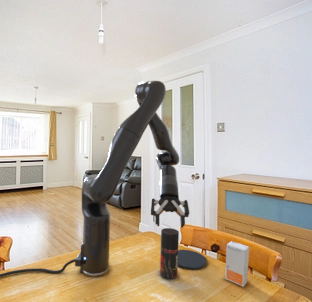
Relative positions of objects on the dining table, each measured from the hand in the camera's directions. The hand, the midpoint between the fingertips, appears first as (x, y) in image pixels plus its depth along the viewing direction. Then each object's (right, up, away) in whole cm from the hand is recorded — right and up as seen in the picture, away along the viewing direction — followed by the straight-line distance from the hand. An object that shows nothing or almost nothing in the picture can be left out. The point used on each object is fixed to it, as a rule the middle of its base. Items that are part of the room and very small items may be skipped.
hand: (170, 226), depth 81 cm
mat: (+8, -16, +7) cm, 19 cm away
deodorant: (-1, -16, -3) cm, 16 cm away
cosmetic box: (+21, -17, -6) cm, 27 cm away
